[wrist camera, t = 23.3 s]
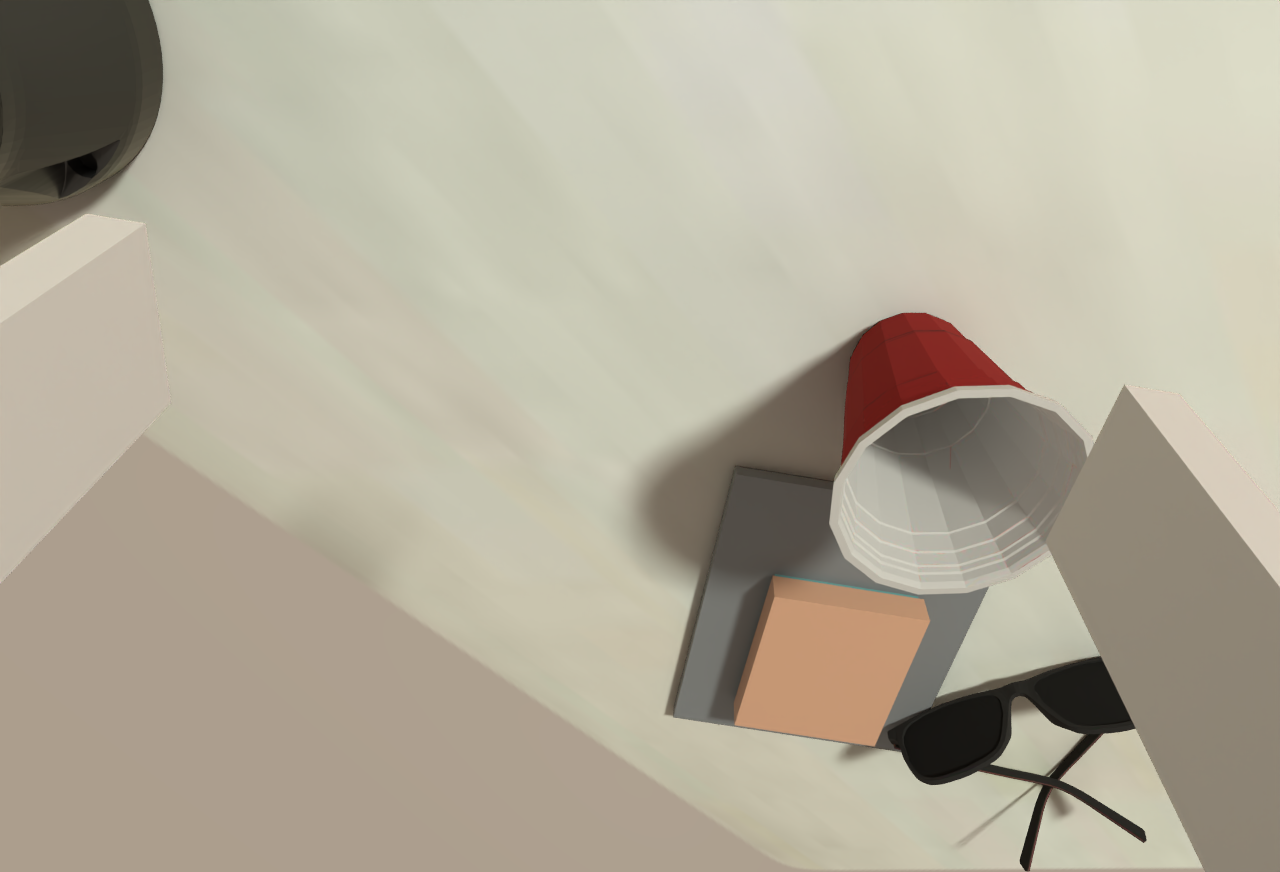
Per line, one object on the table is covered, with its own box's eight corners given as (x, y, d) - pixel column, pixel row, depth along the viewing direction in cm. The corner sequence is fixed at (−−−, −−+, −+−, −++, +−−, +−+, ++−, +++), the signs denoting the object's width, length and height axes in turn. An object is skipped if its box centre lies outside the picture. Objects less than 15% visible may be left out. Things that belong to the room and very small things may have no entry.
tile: (772, 570, 54) (733, 698, 60) (774, 596, 53) (734, 725, 59) (922, 594, 55) (869, 718, 61) (930, 621, 53) (874, 746, 59)
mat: (673, 707, 62) (673, 717, 62) (735, 465, 52) (735, 474, 51) (907, 743, 63) (909, 753, 62) (1016, 511, 52) (1020, 520, 51)
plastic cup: (920, 484, 52) (972, 641, 42) (760, 389, 49) (775, 533, 39) (1067, 337, 46) (1168, 477, 36) (898, 222, 44) (955, 339, 34)
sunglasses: (936, 834, 67) (957, 901, 63) (879, 714, 60) (898, 781, 56) (1176, 770, 64) (1215, 837, 60) (1146, 634, 56) (1188, 699, 52)
